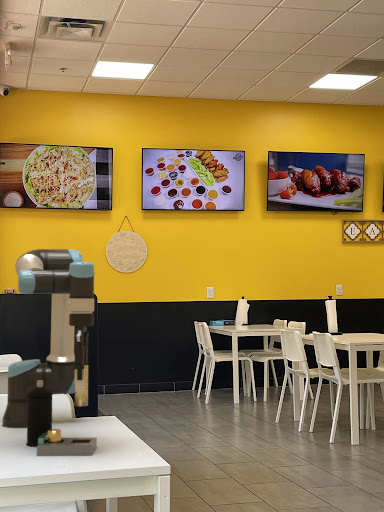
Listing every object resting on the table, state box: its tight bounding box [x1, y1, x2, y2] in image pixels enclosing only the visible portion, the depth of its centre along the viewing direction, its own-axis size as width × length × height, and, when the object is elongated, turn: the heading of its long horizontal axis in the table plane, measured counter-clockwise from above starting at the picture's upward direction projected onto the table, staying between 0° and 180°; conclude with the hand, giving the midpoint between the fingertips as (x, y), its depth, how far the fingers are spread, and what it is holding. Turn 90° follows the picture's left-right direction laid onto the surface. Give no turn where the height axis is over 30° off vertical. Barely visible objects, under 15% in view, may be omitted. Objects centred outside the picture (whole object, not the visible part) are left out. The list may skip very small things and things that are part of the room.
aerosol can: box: [25, 380, 54, 448], centre depth 233 cm, size 8×8×20 cm
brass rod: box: [73, 364, 89, 407], centre depth 222 cm, size 4×4×12 cm
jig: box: [36, 428, 98, 457], centre depth 221 cm, size 12×16×6 cm
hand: (81, 390), depth 222 cm, fingers closed on brass rod, 4 cm apart
